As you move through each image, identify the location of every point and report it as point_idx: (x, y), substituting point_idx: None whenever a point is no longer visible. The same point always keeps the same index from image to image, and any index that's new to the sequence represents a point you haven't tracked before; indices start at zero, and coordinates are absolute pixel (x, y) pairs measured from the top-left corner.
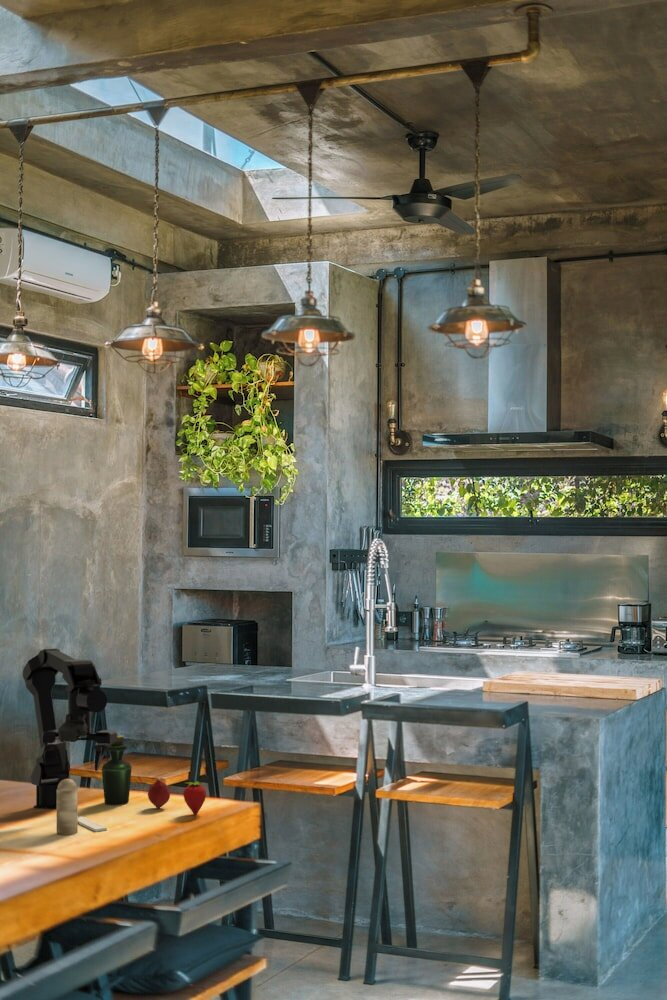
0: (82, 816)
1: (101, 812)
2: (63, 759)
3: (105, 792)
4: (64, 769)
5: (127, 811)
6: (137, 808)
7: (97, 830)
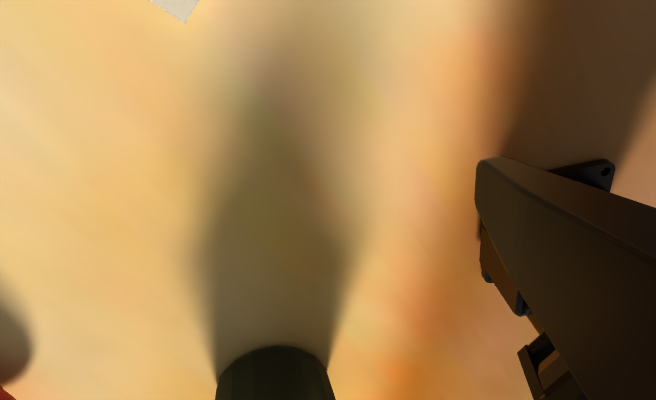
0: (185, 22)
1: (202, 214)
2: (567, 289)
3: (308, 391)
4: (476, 205)
5: (81, 282)
6: (90, 345)
7: None
